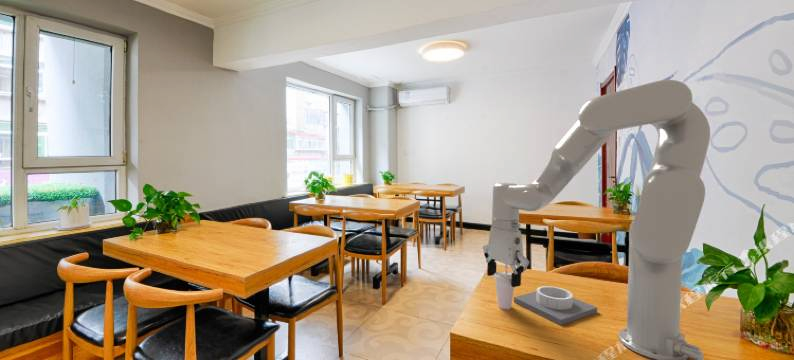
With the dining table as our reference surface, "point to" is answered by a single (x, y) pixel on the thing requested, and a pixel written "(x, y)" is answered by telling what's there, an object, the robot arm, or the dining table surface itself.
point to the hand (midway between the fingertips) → (503, 280)
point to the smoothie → (504, 289)
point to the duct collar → (555, 304)
